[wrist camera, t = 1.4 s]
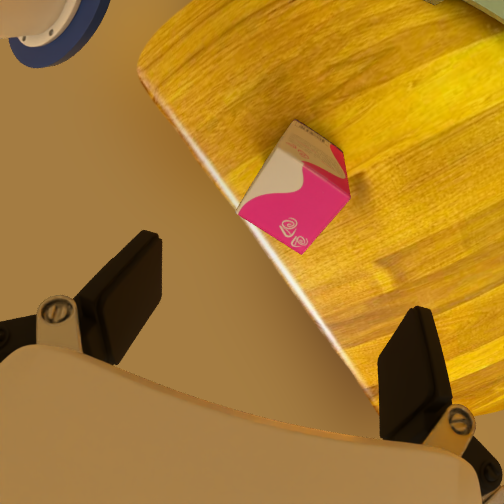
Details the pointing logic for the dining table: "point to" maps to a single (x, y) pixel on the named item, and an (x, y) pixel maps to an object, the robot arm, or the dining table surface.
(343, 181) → the supplement box
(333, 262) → the dining table surface
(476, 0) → the shelf
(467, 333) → the dining table surface
